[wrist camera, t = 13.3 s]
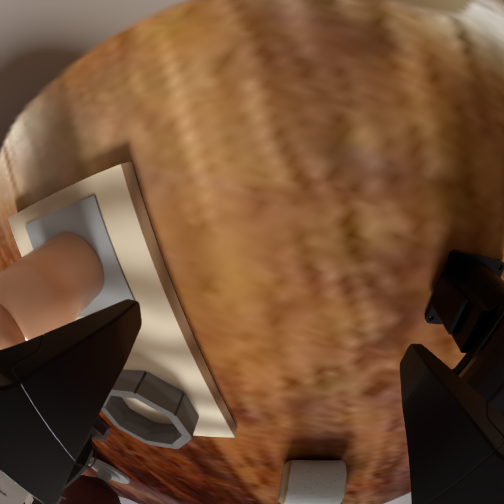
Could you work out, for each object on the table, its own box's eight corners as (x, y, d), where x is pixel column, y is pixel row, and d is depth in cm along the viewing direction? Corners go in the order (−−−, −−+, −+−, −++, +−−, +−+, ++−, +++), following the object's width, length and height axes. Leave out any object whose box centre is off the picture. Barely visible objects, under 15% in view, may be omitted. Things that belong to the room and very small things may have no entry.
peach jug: (94, 232, 20) (-10, 311, 10) (111, 303, 23) (37, 395, 13) (25, 231, 21) (-60, 287, 11) (42, 290, 24) (-27, 355, 14)
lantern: (65, 397, 35) (-16, 528, 8) (104, 415, 35) (27, 564, 8) (79, 422, 39) (13, 541, 12) (116, 439, 38) (54, 570, 11)
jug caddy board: (237, 427, 30) (230, 458, 26) (128, 418, 34) (116, 441, 29) (131, 161, 19) (95, 171, 15) (17, 213, 23) (-13, 228, 19)
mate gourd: (96, 454, 45) (63, 521, 27) (143, 484, 48) (118, 548, 30) (72, 453, 50) (42, 507, 32) (112, 481, 54) (89, 534, 35)
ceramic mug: (285, 450, 31) (280, 500, 25) (346, 451, 30) (348, 500, 24) (279, 476, 36) (274, 517, 29) (330, 478, 35) (329, 517, 28)
